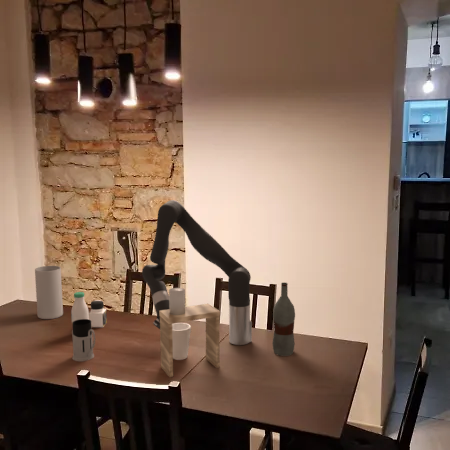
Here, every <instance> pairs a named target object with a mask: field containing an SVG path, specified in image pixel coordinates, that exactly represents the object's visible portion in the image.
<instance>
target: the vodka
mask: <svg viewBox="0 0 450 450" xmlns="http://www.w3.org/2000/svg"><path fill="white" fill-rule="evenodd" d="M288 284H289V283H288V282H281V284H280V285H281V287H280V288H281V289H280V296H279V298H278V299H277V301H276V302H275V304H274V306H273V311H272V312H273V313H272V318H273V320H272V321H273V338H272V349H273V353H274V354H275V355H277V356H281V357H288V356H289V357H290V356H292V355H293V353H294V350H295V345H296V344H295V342H296V341H295V335H294V330H295V329H294V328H295V319H296V311H295V310H296V309H295V306H294V304H293V302H292V300H291V299H290V298H289V296H288V292H289V291H288V290H289V289H288Z"/></svg>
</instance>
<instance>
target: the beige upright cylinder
mask: <svg viewBox="0 0 450 450" xmlns="http://www.w3.org/2000/svg"><path fill="white" fill-rule="evenodd" d="M168 295H169V309H170V314H171V315H183V314H185V307H186V289H185V288H183V287H174V288H173V287H172V288H170V289H169V290H168Z"/></svg>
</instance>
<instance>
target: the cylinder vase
mask: <svg viewBox="0 0 450 450" xmlns="http://www.w3.org/2000/svg"><path fill="white" fill-rule="evenodd" d="M34 276H35V277H34V278H35V280H34V281H35V292H36V293H35V297H36V311H37V312H36V313H37V317H38V318H39V319H42V320H53V319H58V318H60V317H62V316H63V315H64V308H63V307H64V306H63V288H62V287H63V286H62V282H63V281H62V268H61V266H59V265H44V266H38V267H36V268H34Z"/></svg>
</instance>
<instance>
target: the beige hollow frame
mask: <svg viewBox="0 0 450 450" xmlns="http://www.w3.org/2000/svg"><path fill="white" fill-rule="evenodd" d="M159 316H160V329H159V337H160V338H159V339H160V340H159V341H160V368H161V369H162V371H164V373H165V374H166V376H167V377H169V378H173V377H174V359H173V340H172V324H174V323H187V322H191V321H197V320H198V321H199V320H205V359H206V360H207V361H208V362H209V363H211V364H212V365H213V366H214V367H215V368H220V359H221V358H220V316H221V311H220V310H219V309H218V308H216V307H214V306H213V305H211V304H210V303H204V304H203V303H202V304H196V305H189V306H185V314H183V315H171V314H170V309H168V310H161V311H159Z"/></svg>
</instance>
